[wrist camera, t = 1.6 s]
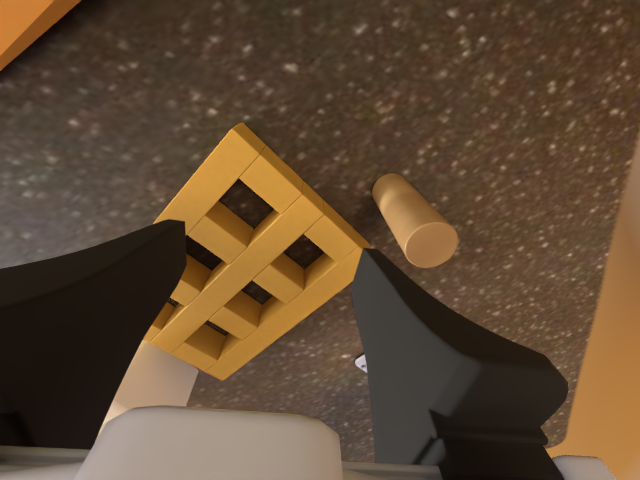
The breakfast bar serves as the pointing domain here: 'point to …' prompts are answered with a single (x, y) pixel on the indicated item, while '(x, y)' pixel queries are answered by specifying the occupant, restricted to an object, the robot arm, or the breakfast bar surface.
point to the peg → (414, 222)
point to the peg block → (250, 258)
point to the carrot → (27, 23)
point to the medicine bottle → (153, 382)
